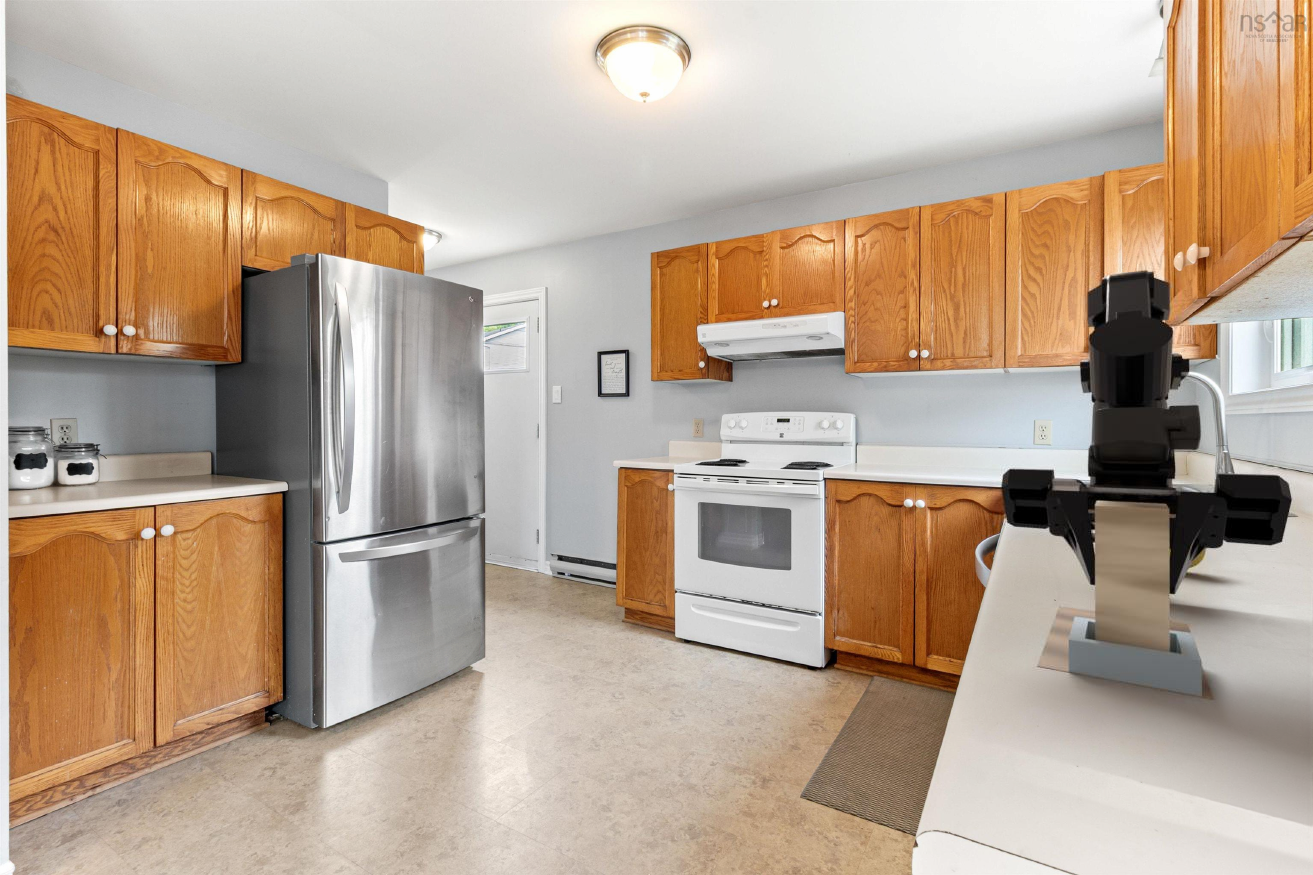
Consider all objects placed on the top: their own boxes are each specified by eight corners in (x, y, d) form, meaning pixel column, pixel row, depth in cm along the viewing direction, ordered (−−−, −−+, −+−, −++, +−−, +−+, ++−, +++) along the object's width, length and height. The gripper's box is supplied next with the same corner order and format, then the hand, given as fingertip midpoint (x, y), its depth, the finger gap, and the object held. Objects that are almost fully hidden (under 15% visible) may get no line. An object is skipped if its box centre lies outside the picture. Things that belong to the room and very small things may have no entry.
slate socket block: (1074, 644, 54) (1074, 616, 54) (1191, 664, 50) (1191, 633, 50) (1068, 671, 48) (1068, 639, 48) (1201, 696, 43) (1201, 660, 44)
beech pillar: (1097, 642, 52) (1096, 500, 52) (1166, 653, 49) (1166, 503, 49) (1095, 658, 49) (1094, 505, 49) (1169, 670, 46) (1169, 509, 46)
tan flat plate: (1059, 615, 67) (1059, 606, 67) (1187, 633, 61) (1187, 623, 61) (1037, 678, 49) (1037, 665, 49) (1213, 713, 43) (1213, 699, 43)
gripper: (1004, 382, 58) (983, 511, 49) (1286, 368, 47) (1324, 533, 38) (1015, 463, 64) (999, 591, 55) (1266, 468, 53) (1296, 629, 44)
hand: (1131, 586), depth 48 cm, fingers closed on beech pillar, 4 cm apart
